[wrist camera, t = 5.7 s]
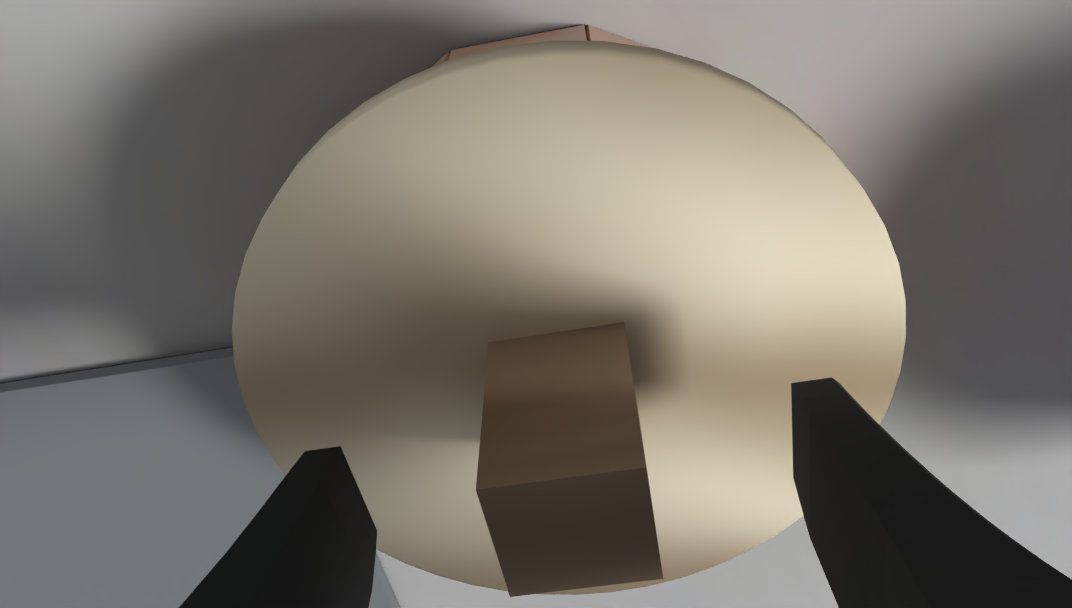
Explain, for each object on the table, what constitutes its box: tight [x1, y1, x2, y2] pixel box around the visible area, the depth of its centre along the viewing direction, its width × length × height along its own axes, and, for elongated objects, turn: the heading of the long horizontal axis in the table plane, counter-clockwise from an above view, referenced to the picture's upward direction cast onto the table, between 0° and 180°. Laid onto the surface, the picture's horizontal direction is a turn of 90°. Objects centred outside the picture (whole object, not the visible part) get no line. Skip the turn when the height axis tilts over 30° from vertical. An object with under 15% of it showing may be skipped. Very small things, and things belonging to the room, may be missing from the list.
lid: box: [232, 40, 906, 597], centre depth 14 cm, size 12×12×4 cm
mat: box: [0, 347, 400, 608], centre depth 23 cm, size 12×12×1 cm
